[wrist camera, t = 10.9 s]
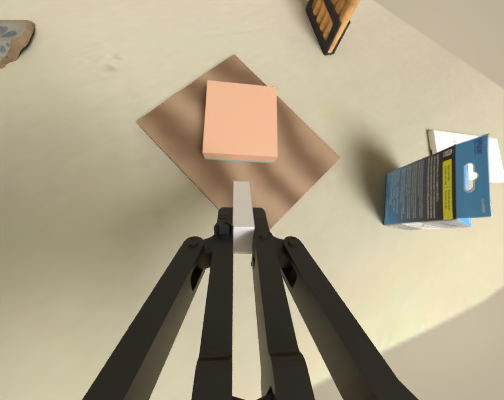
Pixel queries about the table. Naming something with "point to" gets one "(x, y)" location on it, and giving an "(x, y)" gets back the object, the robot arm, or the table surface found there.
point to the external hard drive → (448, 139)
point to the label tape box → (440, 189)
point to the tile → (240, 122)
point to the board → (226, 172)
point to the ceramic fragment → (13, 39)
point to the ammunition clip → (330, 21)
